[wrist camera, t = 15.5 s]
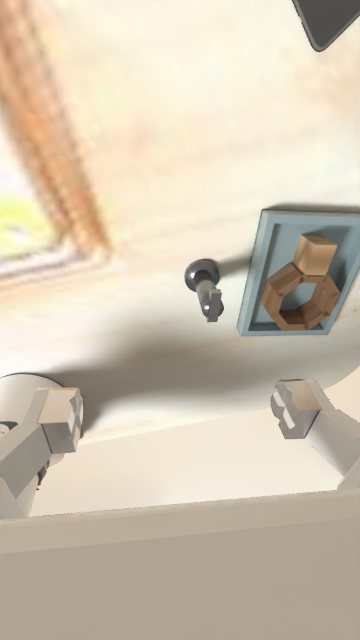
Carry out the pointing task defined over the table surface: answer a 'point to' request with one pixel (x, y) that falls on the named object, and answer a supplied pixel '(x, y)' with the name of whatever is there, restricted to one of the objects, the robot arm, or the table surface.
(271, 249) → the tray
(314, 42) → the smartphone
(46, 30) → the table surface
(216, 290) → the stake
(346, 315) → the table surface
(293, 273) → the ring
